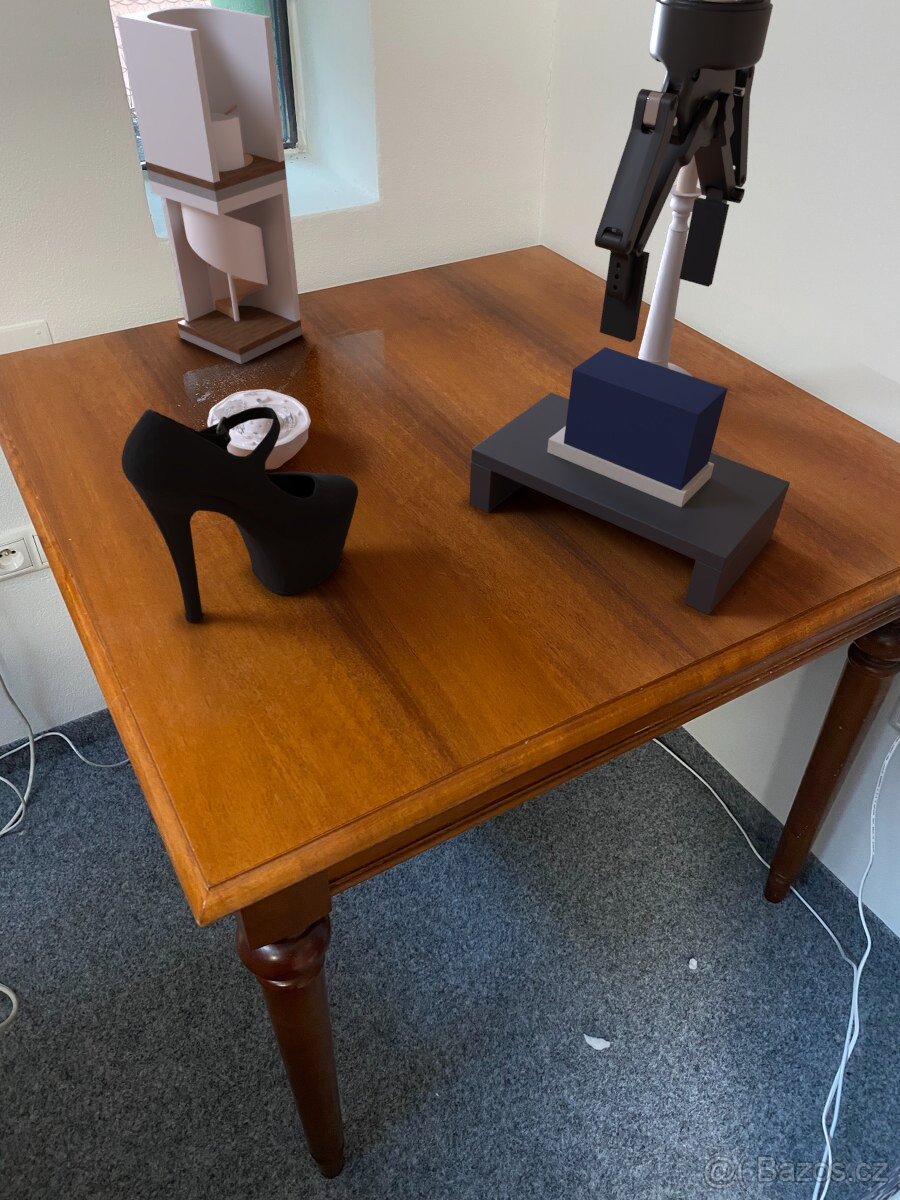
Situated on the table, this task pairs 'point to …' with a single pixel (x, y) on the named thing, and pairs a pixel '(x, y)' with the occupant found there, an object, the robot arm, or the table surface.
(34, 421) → the table surface
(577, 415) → the navy block on base
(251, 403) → the cell model
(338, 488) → the high-heeled shoe
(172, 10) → the white architectural model
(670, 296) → the candlestick
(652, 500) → the shoe shelf
